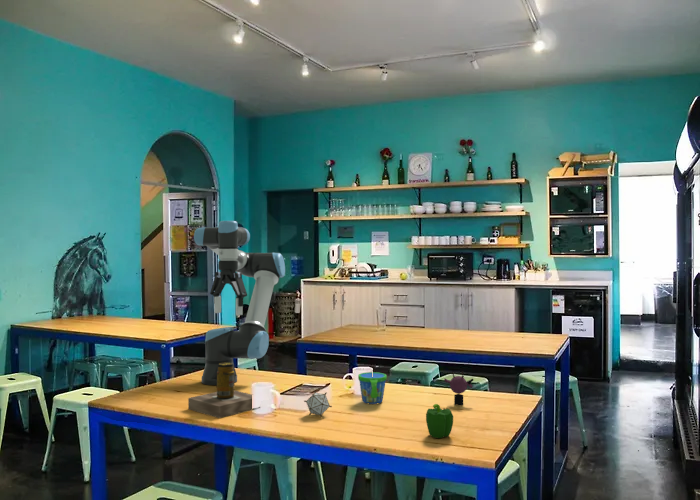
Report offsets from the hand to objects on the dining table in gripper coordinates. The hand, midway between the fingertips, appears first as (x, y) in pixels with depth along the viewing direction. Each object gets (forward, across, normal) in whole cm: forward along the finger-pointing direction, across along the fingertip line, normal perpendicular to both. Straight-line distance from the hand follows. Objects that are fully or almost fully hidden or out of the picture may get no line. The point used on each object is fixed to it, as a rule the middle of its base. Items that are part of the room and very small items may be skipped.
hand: (228, 313), depth 233 cm
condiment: (+28, +17, -14) cm, 36 cm away
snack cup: (+32, +51, +27) cm, 66 cm away
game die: (+32, +48, +1) cm, 58 cm away
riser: (+32, +16, -14) cm, 38 cm away
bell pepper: (+32, +92, +8) cm, 98 cm away
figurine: (+32, +77, +45) cm, 95 cm away
